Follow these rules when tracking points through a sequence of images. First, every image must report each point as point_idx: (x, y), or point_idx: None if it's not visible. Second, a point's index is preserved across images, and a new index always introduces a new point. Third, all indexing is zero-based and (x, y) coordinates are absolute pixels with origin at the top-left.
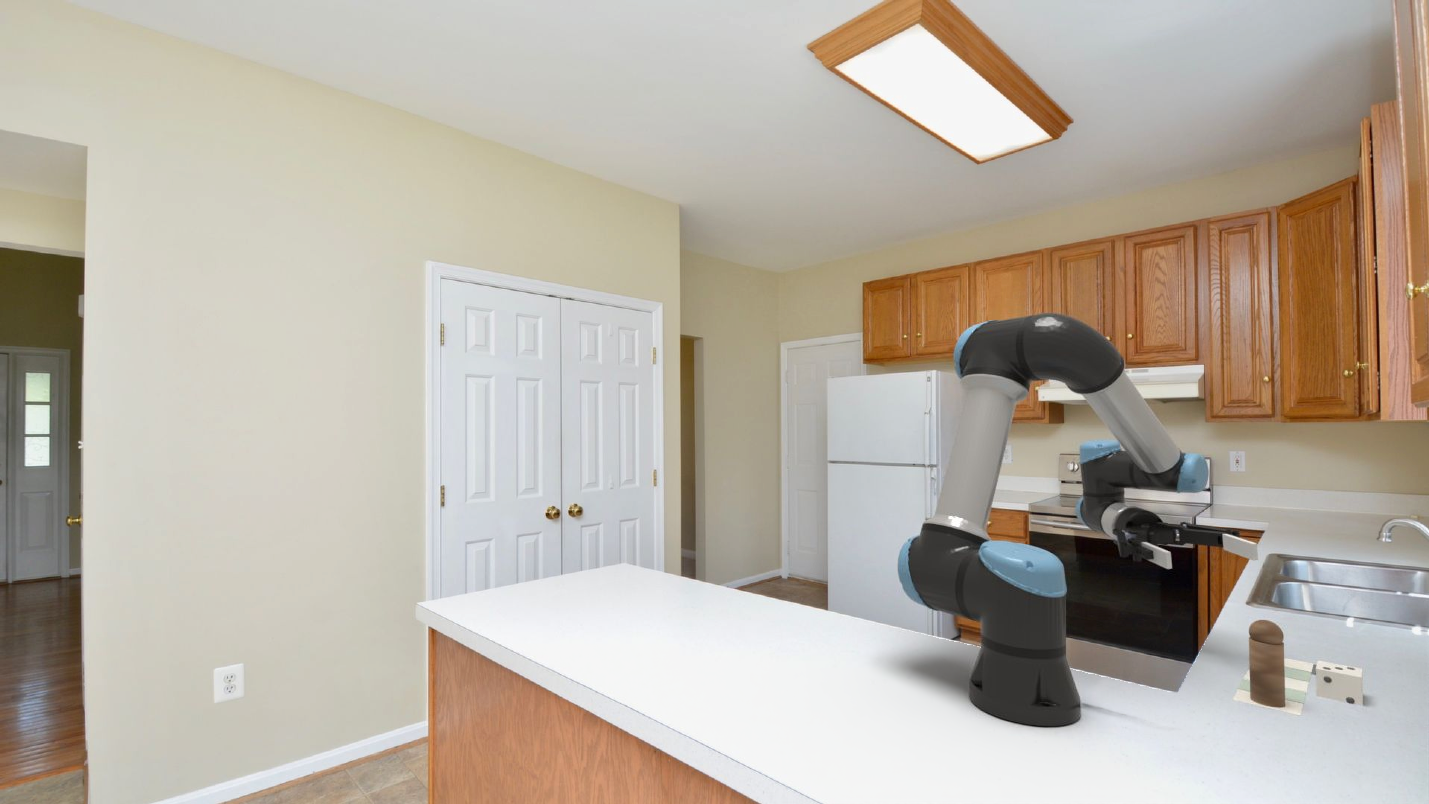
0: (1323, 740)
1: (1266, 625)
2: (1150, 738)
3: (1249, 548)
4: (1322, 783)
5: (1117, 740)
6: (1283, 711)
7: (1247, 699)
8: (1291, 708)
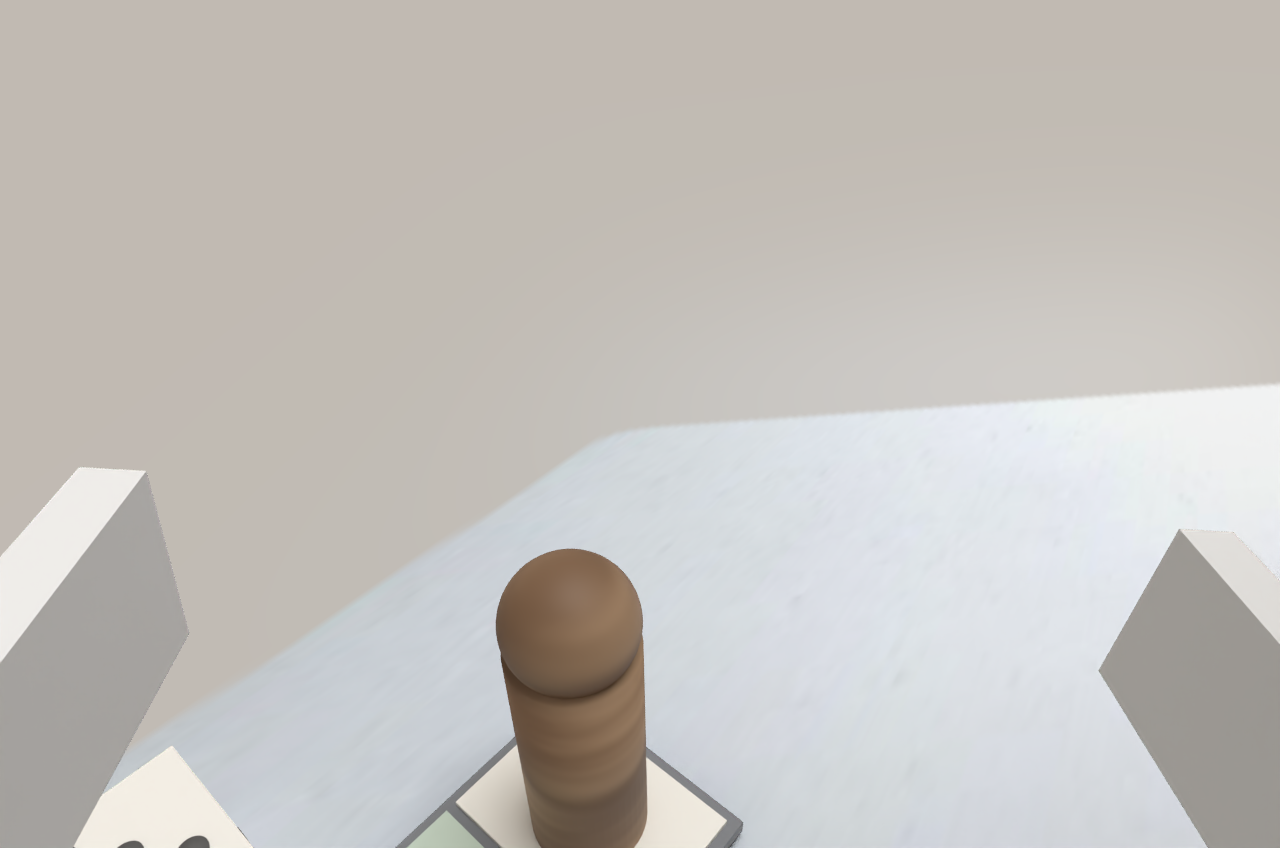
0: None
1: (594, 553)
2: (1109, 574)
3: (141, 564)
4: (780, 442)
5: None
6: None
7: (660, 827)
8: None
